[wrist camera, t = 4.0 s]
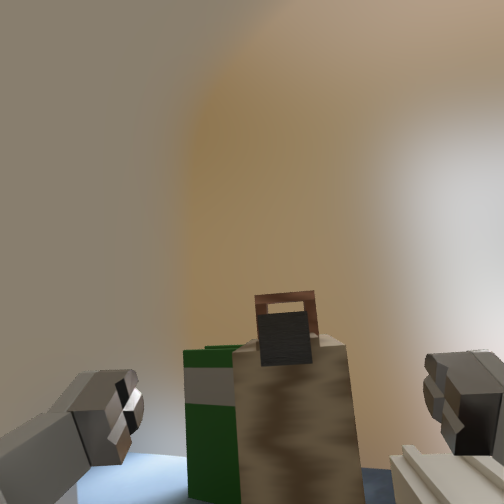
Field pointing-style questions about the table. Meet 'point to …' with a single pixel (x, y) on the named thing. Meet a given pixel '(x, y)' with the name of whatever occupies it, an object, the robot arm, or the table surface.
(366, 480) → the table surface
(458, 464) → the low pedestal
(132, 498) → the table surface
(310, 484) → the paper bag with handle
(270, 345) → the grey square bar
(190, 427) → the hardback book
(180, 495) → the table surface
